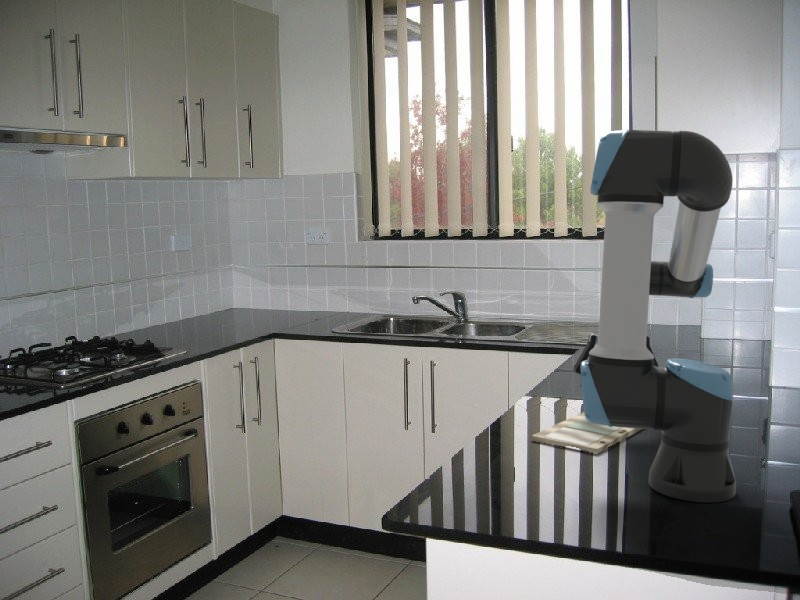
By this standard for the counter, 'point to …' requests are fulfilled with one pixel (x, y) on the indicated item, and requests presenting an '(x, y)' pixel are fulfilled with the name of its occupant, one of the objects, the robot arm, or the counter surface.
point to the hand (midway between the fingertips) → (615, 403)
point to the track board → (583, 434)
